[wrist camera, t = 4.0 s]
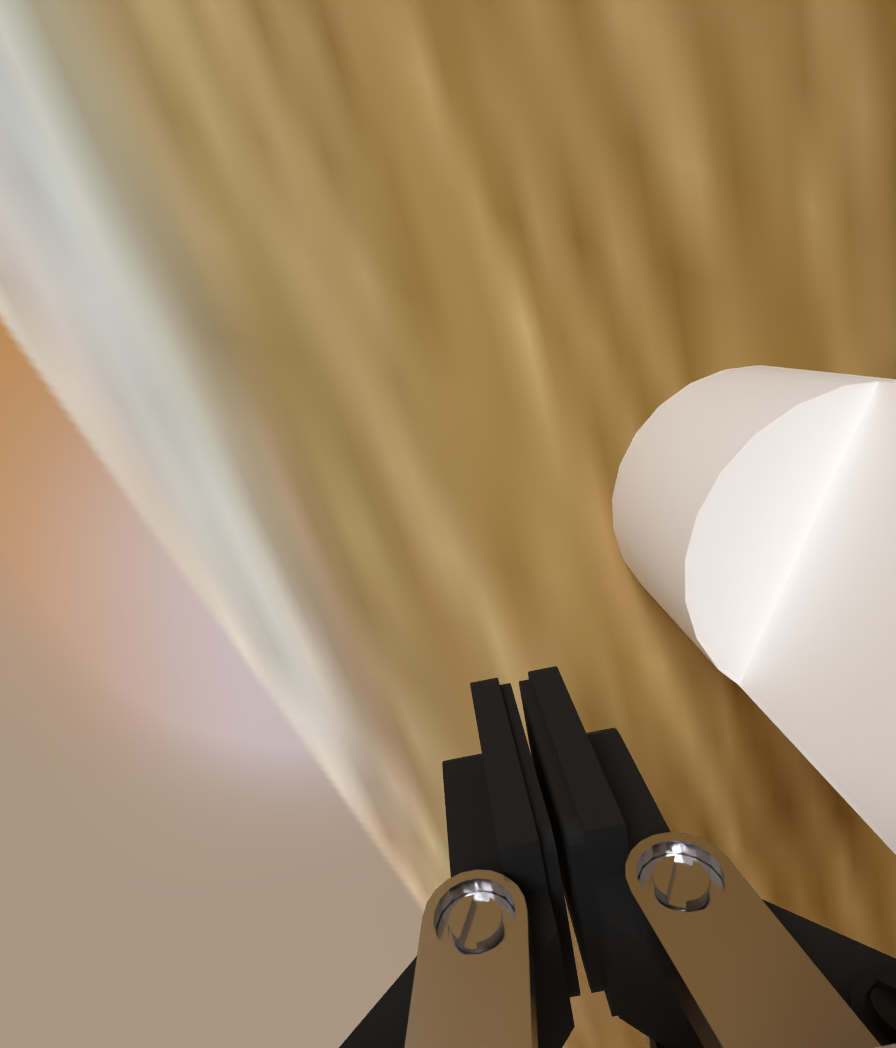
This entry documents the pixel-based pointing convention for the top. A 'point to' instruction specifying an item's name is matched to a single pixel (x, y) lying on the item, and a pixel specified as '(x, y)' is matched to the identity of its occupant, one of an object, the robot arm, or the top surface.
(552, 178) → the top surface
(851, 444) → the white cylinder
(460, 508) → the top surface
